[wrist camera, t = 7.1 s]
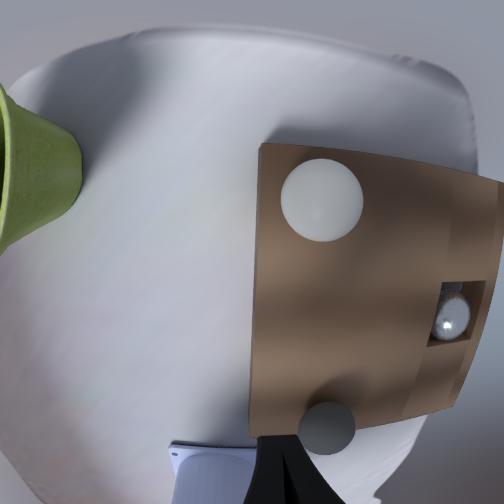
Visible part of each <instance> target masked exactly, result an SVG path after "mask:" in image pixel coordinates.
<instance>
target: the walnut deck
mask: <svg viewBox="0 0 504 504" xmlns="http://www.w3.org/2000/svg"><path fill="white" fill-rule="evenodd" d="M313 159H329V160H333V161H336V162H338V163H340V164H342V165H344V166H345V167H347V168H348V169H349V170H350V171H351V172H352V173H353V174H354V175H355V177H356V178H357V180H358V182H359V184H360V186H361V189H362V193H363V209H362V213H361V216H360V218H359V220H358V222H357V224H356V225H355V226H354V228H353V229H352V230H351V231H350V232H348V233H347V234H346V235H344V236H343V237H341V238H339V239H336V240H333V241H327V242H319V241H313V240H310V239H307V238H305V237H303V236H301V235H299V234H298V233H297V232H295V231H294V230H293V229H292V228H291V226H290V225H289V224H288V222H287V220H286V219H285V217H284V214H283V211H282V207H281V191H282V187H283V185H284V182H285V180H286V178H287V177H288V175H289V174H290V173H291V172H292V171H293V170H294V169H295V168H296V167H297V166H299V165H300V164H302V163H304V162H306V161H309V160H313ZM503 237H504V183H503V182H499V181H496V180H492V179H489V178H485V177H482V176H478V175H474V174H471V173H467V172H463V171H459V170H455V169H450V168H446V167H442V166H437V165H432V164H428V163H423V162H418V161H413V160H407V159H402V158H396V157H390V156H384V155H378V154H371V153H365V152H357V151H350V150H342V149H333V148H324V147H314V146H302V145H289V144H274V143H262V144H261V146H260V148H259V155H258V183H257V211H256V238H255V264H254V290H253V315H252V341H251V365H250V390H249V414H248V416H249V437H250V438H258V437H259V436H267V435H290V434H296V435H297V436H299V435H298V426H299V422H300V420H301V418H302V416H303V414H304V413H305V412H306V411H307V410H308V409H309V408H311V407H312V406H314V405H316V404H318V403H321V402H337V403H340V404H342V405H344V406H345V407H347V408H348V409H349V410H350V411H351V413H352V414H353V416H354V419H355V423H356V430H357V429H363V428H369V427H374V426H380V425H384V424H389V423H394V422H398V421H403V420H407V419H411V418H415V417H419V416H422V415H426V414H430V413H433V412H437V411H440V410H443V409H446V408H450V407H453V405H454V403H455V401H456V399H457V397H458V394H459V392H460V390H461V388H462V385H463V383H464V381H465V378H466V376H467V373H468V371H469V368H470V366H471V363H472V361H473V358H474V355H475V353H476V350H477V347H478V344H479V341H480V338H481V335H482V332H483V329H484V325H485V322H486V319H487V315H488V311H489V308H490V304H491V300H492V296H493V292H494V288H495V283H496V278H497V274H498V269H499V263H500V257H501V251H502V245H503ZM457 281H463V286H462V290H461V293H462V294H463V295H464V296H465V297H466V299H467V301H468V303H469V306H470V320H469V323H468V325H467V327H466V329H465V330H464V332H463V333H462V334H461V335H459V336H458V337H456V338H454V339H451V340H440V339H437V338H435V337H434V336H433V335H431V334H430V332H431V328H432V324H433V321H434V317H435V313H436V308H437V304H438V300H439V295H440V290H441V285H442V282H457Z"/></svg>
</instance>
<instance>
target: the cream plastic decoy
mask: <svg viewBox="0 0 504 504" xmlns="http://www.w3.org/2000/svg"><path fill="white" fill-rule="evenodd" d="M281 207H282V211H283V214H284V217H285V219H286V220H287V222H288V224H289V225H290V226H291V228H292V229H293V230H294V231H295V232H297V233H298V234H299V235H301V236H303V237H305V238H307V239H310V240H313V241H319V242H327V241H333V240H336V239H339V238H341V237H343V236H344V235H346V234H347V233H348V232H350V231H351V230H352V229H353V228H354V226H355V225H356V224H357V222H358V220H359V218H360V216H361V213H362V209H363V193H362V189H361V186H360V184H359V182H358V180H357V178H356V177H355V175H354V174H353V173H352V172H351V171H350V170H349V169H348V168H347V167H345V166H344V165H342V164H340V163H338V162H336V161H333V160H329V159H313V160H309V161H306V162H304V163H302V164H300V165H299V166H297V167H296V168H295V169H294V170H293V171H292V172H291V173H290V174H289V175H288V177H287V178H286V180H285V182H284V185H283V187H282V191H281Z"/></svg>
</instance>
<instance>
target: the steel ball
mask: <svg viewBox="0 0 504 504" xmlns="http://www.w3.org/2000/svg"><path fill="white" fill-rule="evenodd" d="M469 320H470V306H469V303H468V301H467V299H466V297H465V296H464V295H463V294H462V293H460V292H459V291H457V290H453V289H445V290H441V291H440V295H439V300H438V304H437V308H436V313H435V317H434V321H433V324H432V328H431V332H430V334H431V335H433V336H434V337H435V338H437V339H440V340H451V339H454V338H456V337H458V336H459V335H461V334H462V333H463V332H464V330H465V329H466V327H467V325H468V323H469Z"/></svg>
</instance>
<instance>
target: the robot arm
mask: <svg viewBox="0 0 504 504" xmlns="http://www.w3.org/2000/svg"><path fill="white" fill-rule="evenodd" d="M168 451H169V455H170V459H171V462H172V466H173V470H174V474H175V477H176V482H175V488H174V494H173V499H172V504H346V503H345V502H344V501H343V500H342V499H341V498H340V497H339V496H338V495H337V494H336V493H335V491H334V490H333V489H332V488H331V487H330V486H329V484H328V483H327V482H326V480H325V479H324V478H323V476H322V475H321V474H320V472H319V471H318V470H317V468H316V467H315V465H314V464H313V462H312V461H311V459H310V457H309V456H308V454H307V453H306V451H305V449H304V447H303V445H302V444H301V442H300V440H299V438H298V436H297V435H296V434H290V435H267V436H259V437H258V438H257V449H235V448H209V447H195V446H183V445H170V446H169V448H168Z"/></svg>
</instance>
